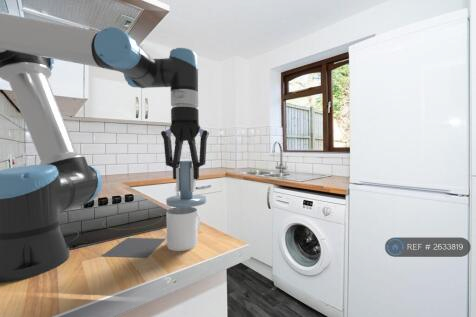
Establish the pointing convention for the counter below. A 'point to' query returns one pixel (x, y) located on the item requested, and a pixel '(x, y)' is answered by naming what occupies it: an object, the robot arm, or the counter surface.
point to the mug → (182, 228)
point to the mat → (134, 247)
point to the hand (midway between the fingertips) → (186, 190)
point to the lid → (185, 190)
